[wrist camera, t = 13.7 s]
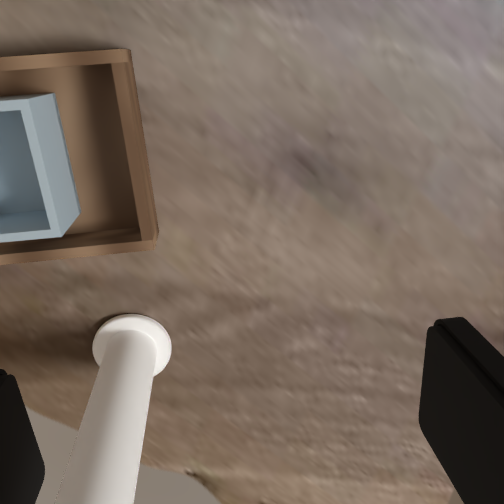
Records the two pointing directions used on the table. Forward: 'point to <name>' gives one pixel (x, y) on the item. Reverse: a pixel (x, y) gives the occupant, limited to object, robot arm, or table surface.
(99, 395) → the candle
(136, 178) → the walnut crate
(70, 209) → the bluegrey crate
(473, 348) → the robot arm
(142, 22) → the table surface
